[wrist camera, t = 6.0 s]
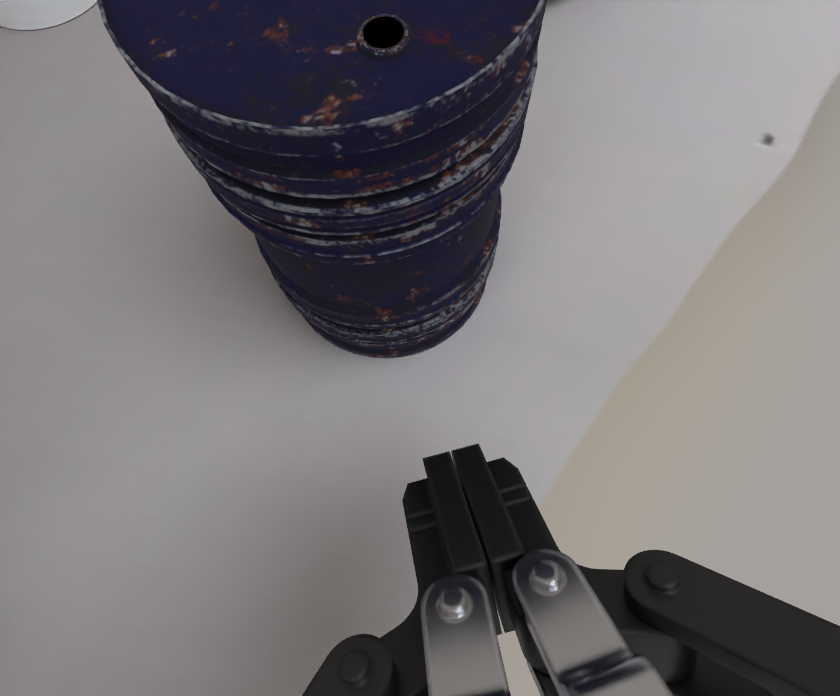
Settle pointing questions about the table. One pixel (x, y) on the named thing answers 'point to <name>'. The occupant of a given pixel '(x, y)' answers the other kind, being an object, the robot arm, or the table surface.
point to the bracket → (40, 12)
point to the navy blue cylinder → (350, 143)
